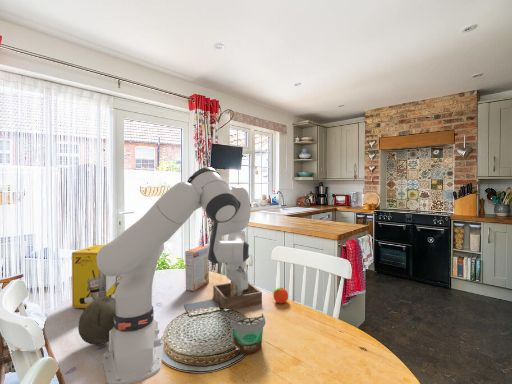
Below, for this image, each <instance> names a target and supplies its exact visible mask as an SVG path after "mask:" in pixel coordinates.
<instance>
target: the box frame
mask: <svg viewBox="0 0 512 384" xmlns="http://www.w3.org/2000/svg"><path fill="white" fill-rule="evenodd" d="M212 288H213V289H212V290H213V291H212V292H213V293H212V294H213V299H214V300H215V302H216V303H217V304H218V306H219V307H220V308H221V309H222V308H226V309H233V310H232V311H236V310H239V309H244V308H249V307H252V306H256V305H262V304H263V293H262V292H263V291H261V290H259V288H257V287H256V286H254V285H253V284H252V283H250V282H249V281H248V289H245V290H243V293H244V292H246V294H243V295H240V296H234V297H231V296H230V297H226V296H229V295H231V282H228V283H227V282H226V283H221V284H216V285H215V284H214V285H213V286H212Z"/></svg>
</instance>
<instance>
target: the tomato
mask: <svg viewBox="0 0 512 384" xmlns="http://www.w3.org/2000/svg"><path fill="white" fill-rule="evenodd" d="M272 295H273V300H274V301H275V302H276V303H278V304H285V303H287V301H288V299H289V293H288V291H287V289H285V288H284V287H277V288H275V289H274V290H273V292H272Z"/></svg>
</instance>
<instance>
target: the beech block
mask: <svg viewBox="0 0 512 384" xmlns="http://www.w3.org/2000/svg"><path fill="white" fill-rule="evenodd" d="M230 283H231V294H230V297H234V296H238V295H237V290H238V288H237V286H236V285H235V283H234V282H232V281H230ZM241 295H244V292H243V290H242V291H241ZM239 296H240V295H239Z"/></svg>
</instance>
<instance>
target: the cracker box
mask: <svg viewBox="0 0 512 384" xmlns="http://www.w3.org/2000/svg"><path fill="white" fill-rule="evenodd" d="M207 250H208V246H204V245H203V246H202V245H199V246H197V247H194V248H192V249H188V250H185V251H184V255H185V256H184V257H185V258H184V261H185V290H186V291H190V292H191V291H192V292H196V291H197V290H199V289H201V288H203V287H204V286H206V285H207V284H209V283H210V272H209V271H210V269H209V268H210V267H209V262H210V261H209V260H208V257H207Z"/></svg>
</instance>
